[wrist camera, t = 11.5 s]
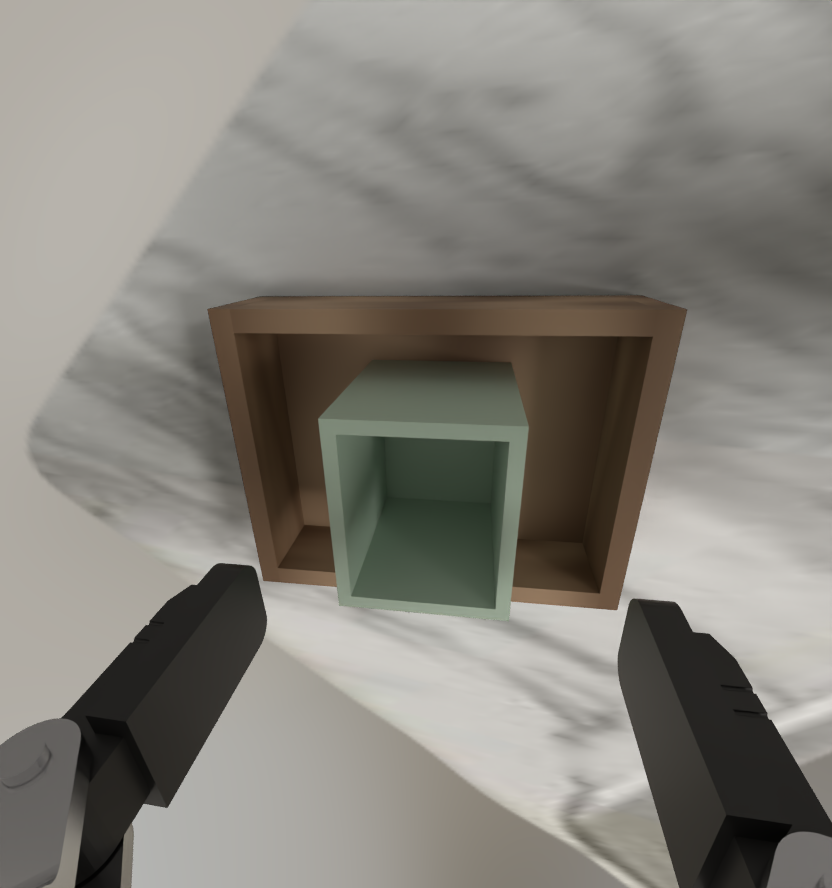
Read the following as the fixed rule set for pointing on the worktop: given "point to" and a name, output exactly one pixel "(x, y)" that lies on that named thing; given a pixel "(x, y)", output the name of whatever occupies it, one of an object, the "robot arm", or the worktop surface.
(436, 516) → the small crate
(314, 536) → the big crate
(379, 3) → the worktop surface
